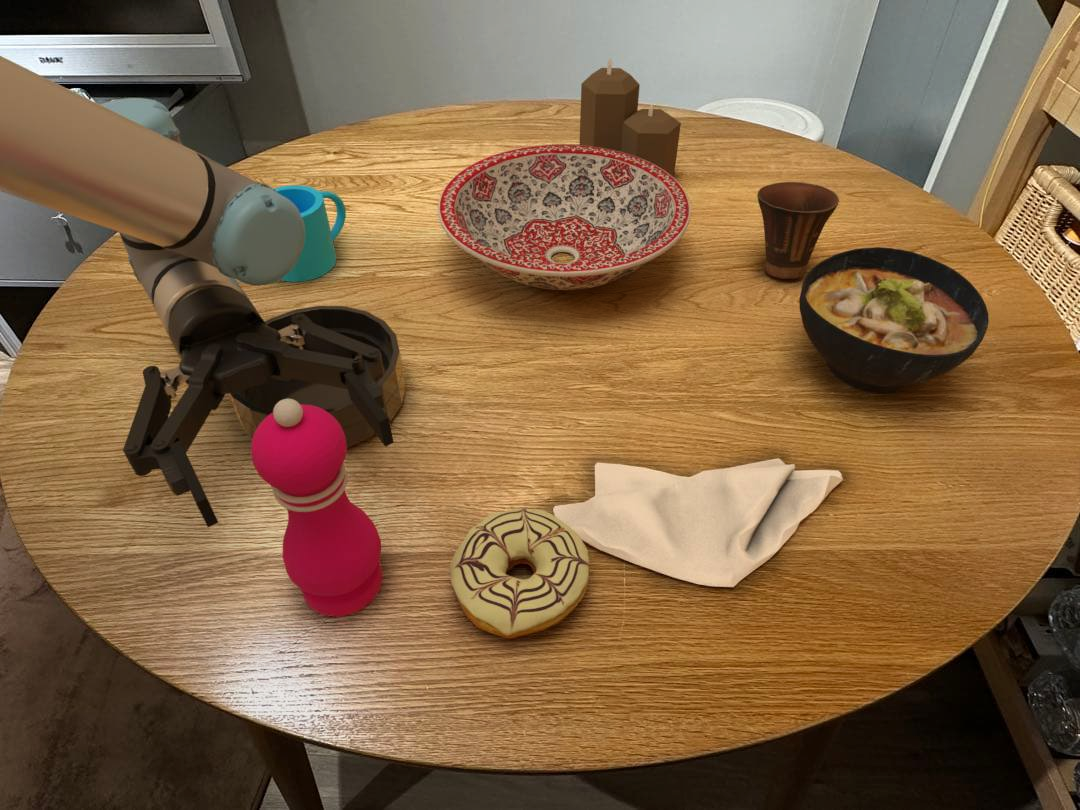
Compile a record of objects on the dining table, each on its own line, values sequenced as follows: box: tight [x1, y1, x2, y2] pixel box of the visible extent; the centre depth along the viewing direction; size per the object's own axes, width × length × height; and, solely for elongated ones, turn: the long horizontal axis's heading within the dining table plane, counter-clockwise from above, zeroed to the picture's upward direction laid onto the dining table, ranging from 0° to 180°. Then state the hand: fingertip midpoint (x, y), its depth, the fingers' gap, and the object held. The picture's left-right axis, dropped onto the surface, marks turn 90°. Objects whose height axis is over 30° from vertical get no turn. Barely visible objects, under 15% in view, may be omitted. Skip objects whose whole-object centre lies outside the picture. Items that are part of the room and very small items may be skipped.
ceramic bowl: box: [437, 144, 692, 291], centre depth 92 cm, size 29×29×8 cm
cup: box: [756, 181, 840, 280], centre depth 90 cm, size 9×9×10 cm
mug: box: [273, 184, 347, 283], centre depth 93 cm, size 12×8×8 cm
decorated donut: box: [449, 507, 590, 639], centre depth 60 cm, size 10×11×4 cm
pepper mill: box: [250, 399, 383, 617], centre depth 55 cm, size 7×7×20 cm
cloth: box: [552, 457, 844, 588], centre depth 65 cm, size 26×14×2 cm, turn 91°
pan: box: [228, 305, 407, 449], centre depth 75 cm, size 16×16×6 cm
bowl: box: [798, 246, 990, 393], centre depth 77 cm, size 17×17×10 cm
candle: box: [578, 57, 682, 178], centre depth 105 cm, size 14×14×15 cm
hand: (301, 471), depth 56 cm, fingers open, 13 cm apart
